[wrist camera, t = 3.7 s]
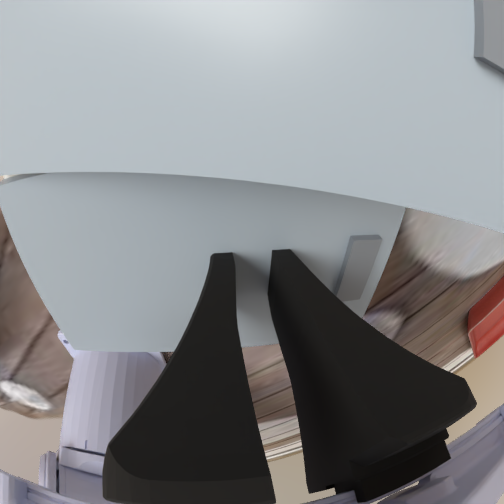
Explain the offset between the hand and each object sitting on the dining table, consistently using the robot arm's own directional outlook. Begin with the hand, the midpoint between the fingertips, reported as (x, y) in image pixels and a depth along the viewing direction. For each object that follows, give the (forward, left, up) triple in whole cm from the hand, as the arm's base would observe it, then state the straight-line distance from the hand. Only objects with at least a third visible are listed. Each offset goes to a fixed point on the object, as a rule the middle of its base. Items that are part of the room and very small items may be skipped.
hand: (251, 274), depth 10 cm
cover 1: (+9, +2, +2) cm, 9 cm away
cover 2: (0, +2, -1) cm, 2 cm away
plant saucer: (-13, -37, -5) cm, 40 cm away
